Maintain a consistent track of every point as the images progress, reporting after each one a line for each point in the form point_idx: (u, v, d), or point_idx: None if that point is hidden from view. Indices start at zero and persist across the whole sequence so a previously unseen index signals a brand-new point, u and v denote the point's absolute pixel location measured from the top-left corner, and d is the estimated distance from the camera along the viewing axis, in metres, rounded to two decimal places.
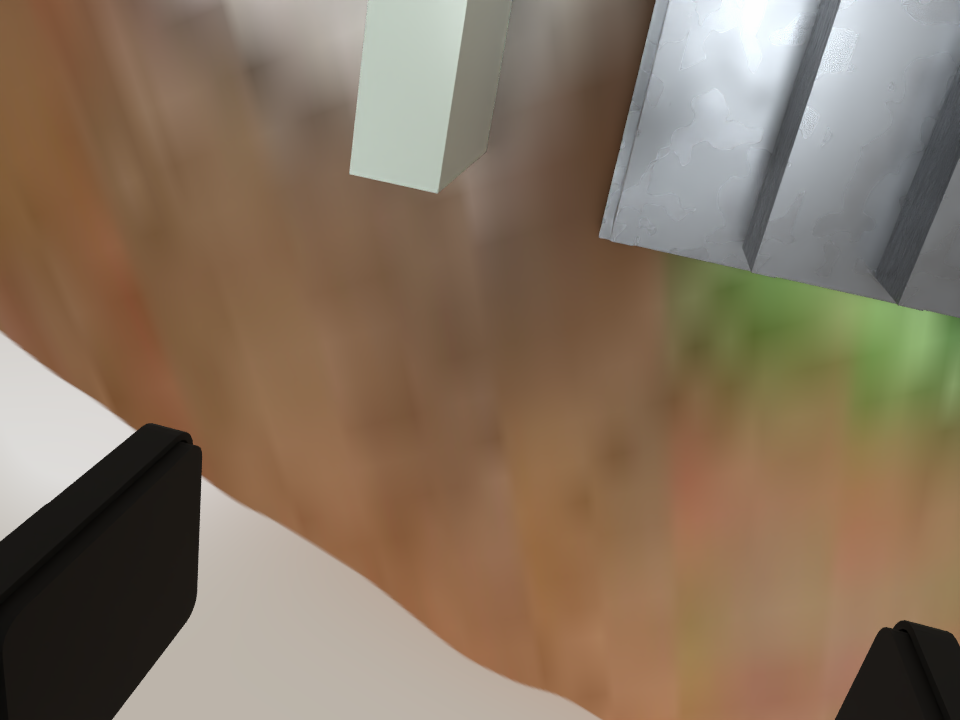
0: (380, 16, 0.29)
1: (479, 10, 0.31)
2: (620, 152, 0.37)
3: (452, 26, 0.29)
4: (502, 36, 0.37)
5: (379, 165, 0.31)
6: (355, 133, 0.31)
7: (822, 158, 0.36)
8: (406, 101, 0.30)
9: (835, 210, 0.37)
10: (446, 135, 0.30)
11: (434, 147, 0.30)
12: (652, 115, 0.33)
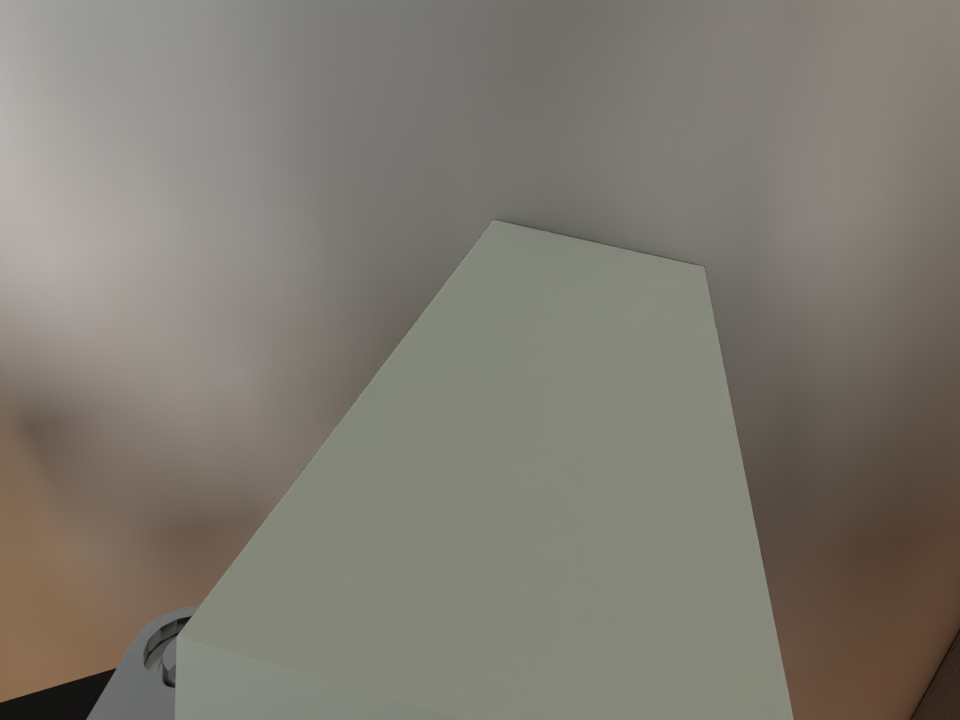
0: None
1: None
2: None
3: None
4: None
5: None
6: None
7: None
8: None
9: None
10: None
11: None
12: None
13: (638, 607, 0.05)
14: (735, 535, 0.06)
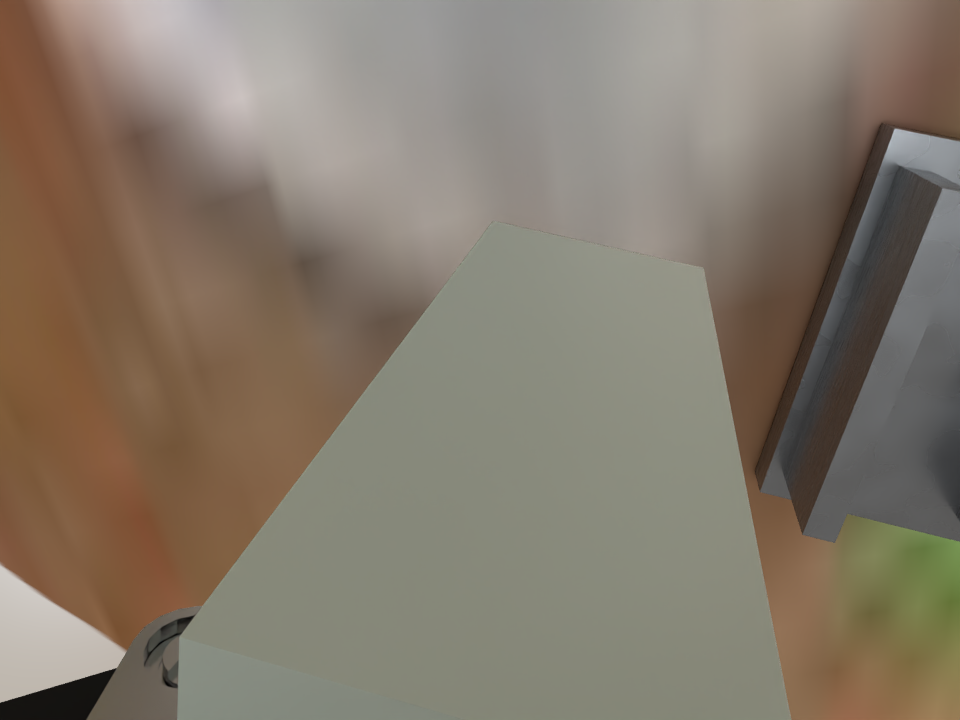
0: None
1: None
2: (798, 393, 0.28)
3: None
4: None
5: None
6: None
7: None
8: None
9: None
10: None
11: None
12: (879, 386, 0.24)
13: (637, 609, 0.05)
14: (733, 536, 0.06)
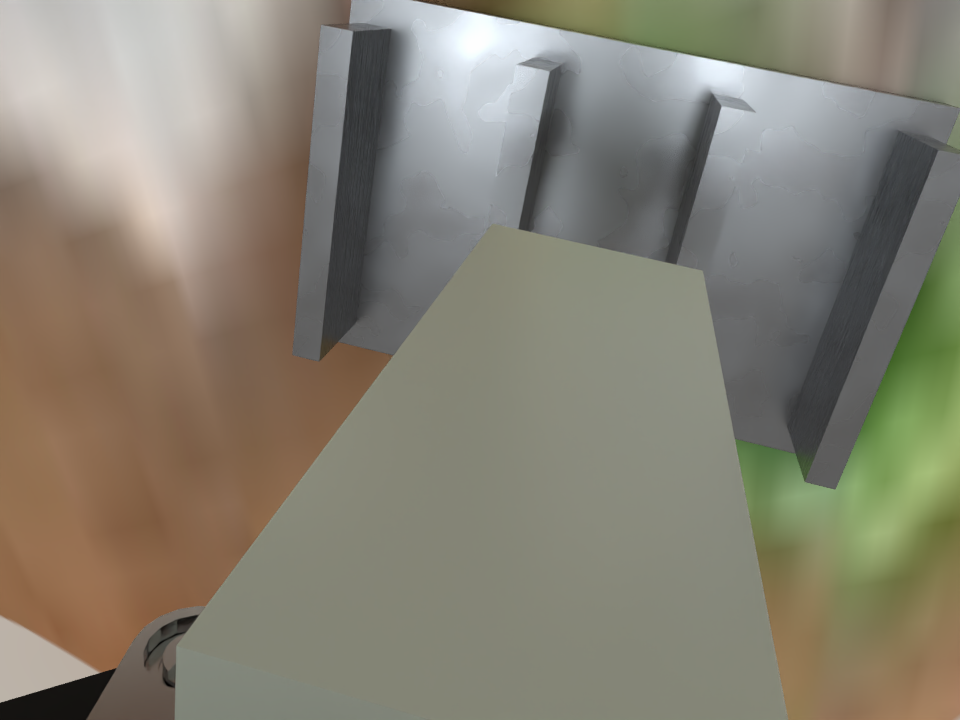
0: None
1: None
2: None
3: None
4: None
5: None
6: None
7: None
8: None
9: None
10: None
11: None
12: (317, 212, 0.27)
13: (636, 615, 0.05)
14: (732, 542, 0.06)
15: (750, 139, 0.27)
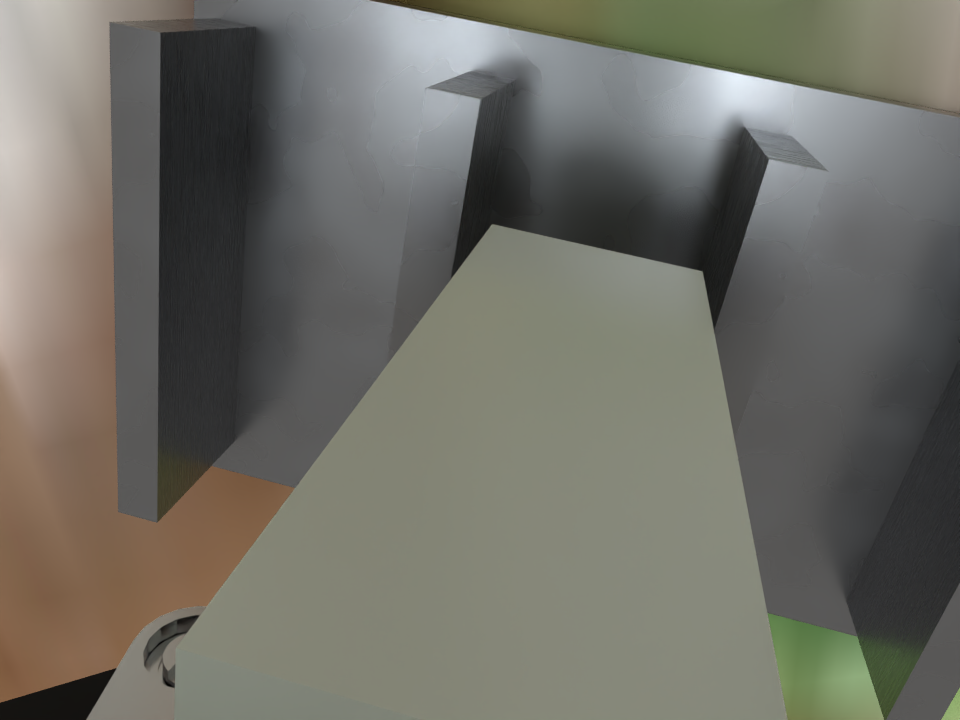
0: None
1: None
2: None
3: None
4: None
5: None
6: None
7: None
8: None
9: None
10: None
11: None
12: (133, 312, 0.17)
13: (636, 617, 0.05)
14: (732, 543, 0.06)
15: None
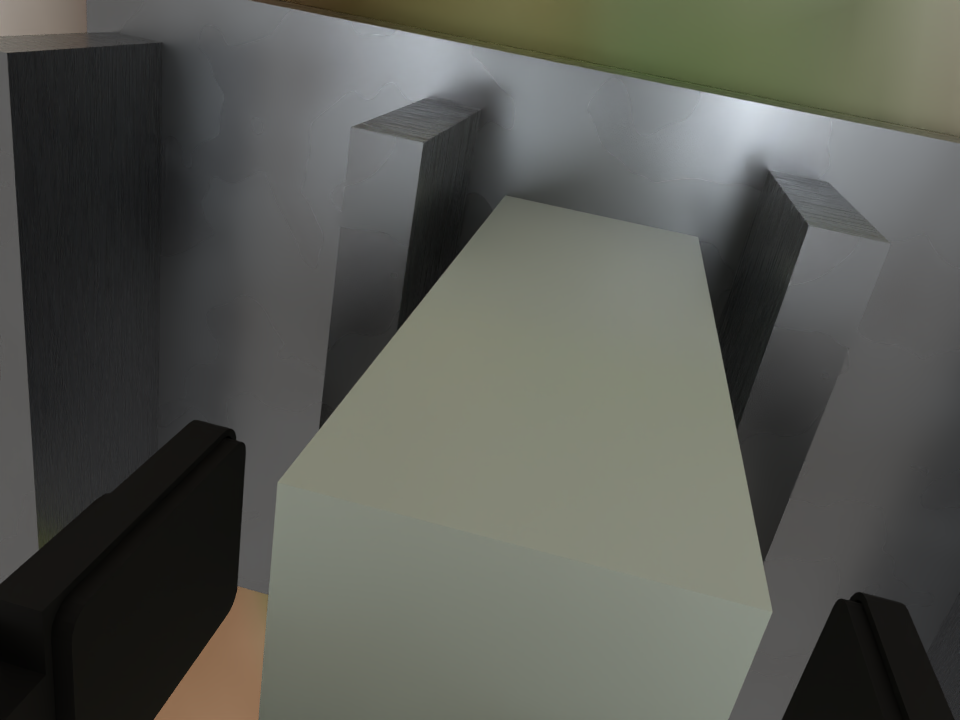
0: None
1: None
2: None
3: None
4: None
5: None
6: None
7: None
8: None
9: None
10: None
11: None
12: None
13: (637, 478, 0.07)
14: (719, 434, 0.08)
15: None
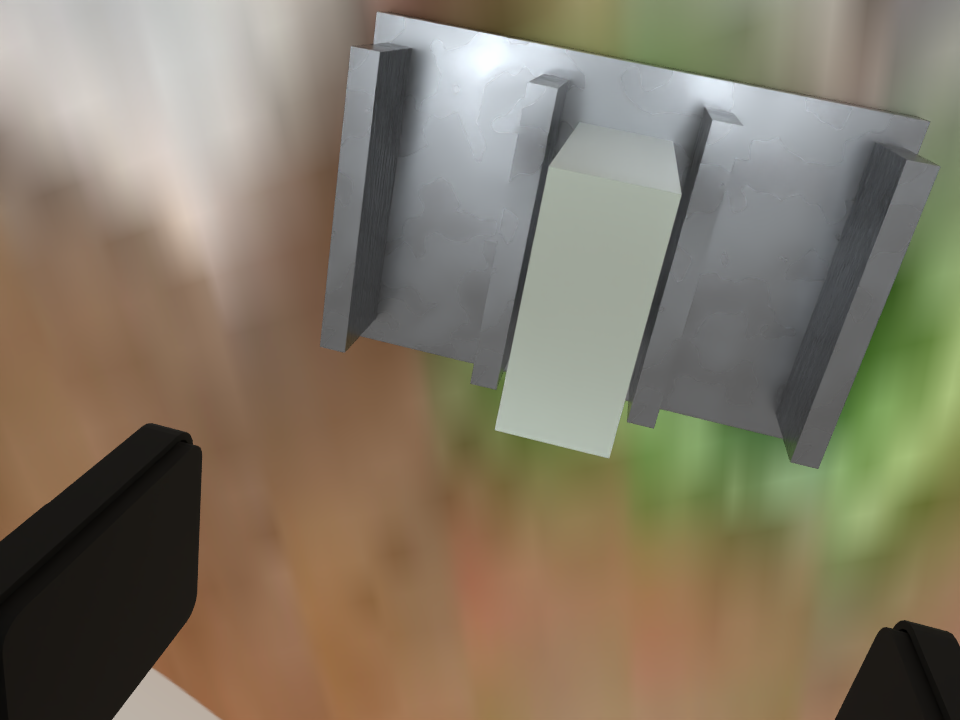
0: (549, 253, 0.22)
1: None
2: None
3: (645, 269, 0.22)
4: None
5: (534, 422, 0.24)
6: (506, 385, 0.24)
7: None
8: (576, 352, 0.23)
9: None
10: (626, 393, 0.24)
11: (609, 406, 0.24)
12: (345, 215, 0.30)
13: (646, 178, 0.22)
14: (672, 176, 0.23)
15: (740, 149, 0.30)
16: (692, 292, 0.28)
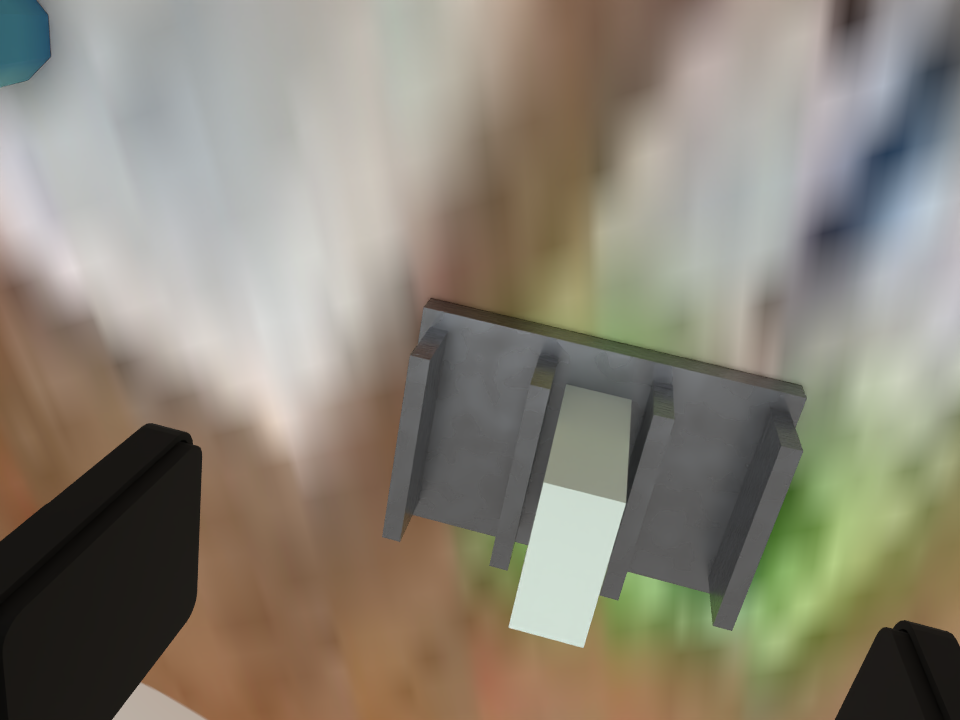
0: (544, 529, 0.35)
1: None
2: None
3: (604, 542, 0.35)
4: None
5: (534, 624, 0.37)
6: (516, 602, 0.37)
7: None
8: (561, 585, 0.36)
9: None
10: (593, 610, 0.37)
11: (583, 617, 0.37)
12: (403, 456, 0.42)
13: (605, 481, 0.35)
14: (623, 472, 0.36)
15: (678, 407, 0.43)
16: (642, 516, 0.41)
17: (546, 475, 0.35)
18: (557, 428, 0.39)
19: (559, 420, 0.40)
